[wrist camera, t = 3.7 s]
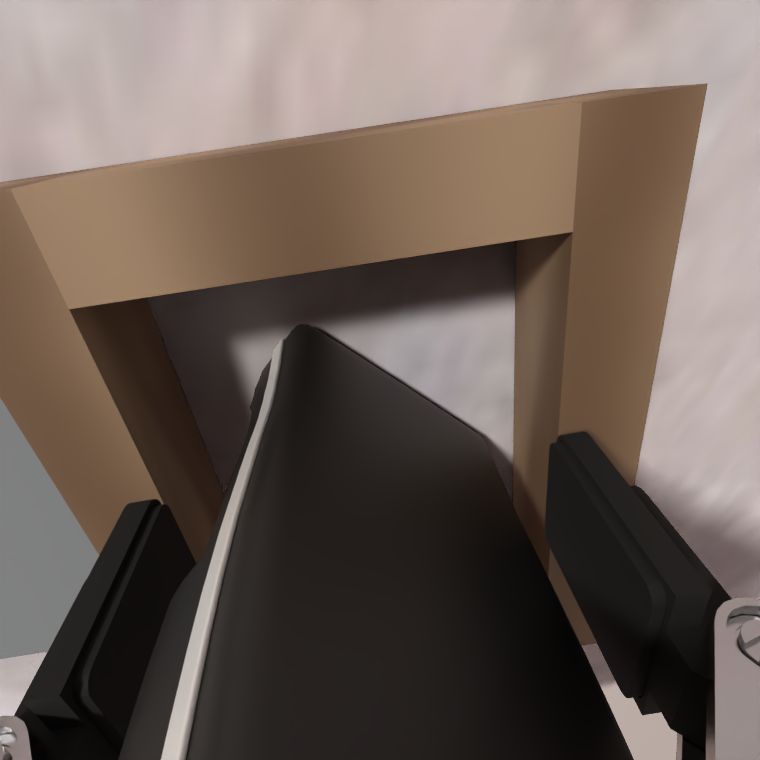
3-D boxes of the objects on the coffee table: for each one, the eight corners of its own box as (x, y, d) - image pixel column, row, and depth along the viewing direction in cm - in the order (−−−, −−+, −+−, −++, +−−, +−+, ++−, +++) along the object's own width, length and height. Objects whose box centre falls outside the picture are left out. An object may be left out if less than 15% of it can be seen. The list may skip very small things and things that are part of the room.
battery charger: (217, 412, 13) (-130, 1323, 3) (293, 306, 12) (95, 1299, 2) (410, 513, 16) (542, 1200, 6) (490, 435, 14) (837, 1155, 4)
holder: (610, 90, 10) (707, 83, 8) (565, 562, 18) (605, 641, 15) (-1, 182, 10) (-119, 208, 7) (215, 618, 17) (194, 707, 15)
